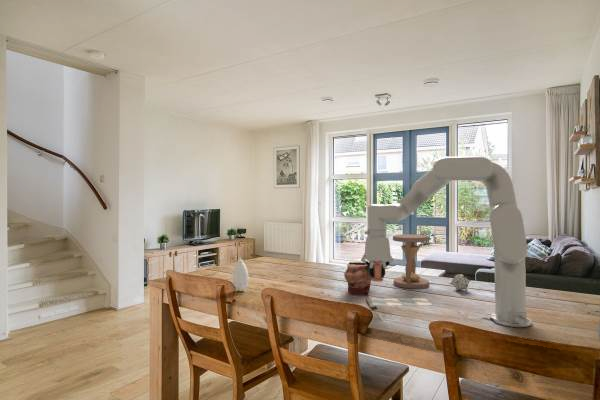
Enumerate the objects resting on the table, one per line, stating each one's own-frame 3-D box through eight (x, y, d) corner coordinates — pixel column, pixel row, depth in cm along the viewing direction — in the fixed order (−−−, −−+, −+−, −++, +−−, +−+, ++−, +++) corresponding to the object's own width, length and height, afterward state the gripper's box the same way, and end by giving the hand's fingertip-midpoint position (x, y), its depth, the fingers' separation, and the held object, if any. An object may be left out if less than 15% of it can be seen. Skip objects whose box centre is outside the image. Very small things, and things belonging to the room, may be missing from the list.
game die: (464, 299, 169) (474, 285, 163) (446, 292, 171) (455, 278, 165) (464, 285, 176) (473, 272, 170) (447, 279, 178) (455, 265, 172)
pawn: (384, 281, 148) (384, 258, 147) (372, 281, 148) (372, 258, 148) (382, 279, 152) (381, 256, 152) (370, 279, 153) (370, 256, 152)
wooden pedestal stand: (402, 279, 195) (401, 233, 195) (434, 283, 184) (433, 235, 184) (387, 285, 182) (386, 236, 182) (421, 290, 171) (420, 238, 171)
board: (436, 308, 143) (436, 305, 143) (371, 309, 144) (371, 306, 144) (426, 300, 155) (426, 297, 155) (366, 300, 156) (366, 297, 156)
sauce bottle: (244, 293, 171) (243, 256, 171) (229, 292, 174) (229, 255, 174) (251, 289, 178) (250, 253, 178) (237, 288, 181) (236, 253, 181)
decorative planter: (356, 285, 183) (355, 258, 183) (379, 288, 176) (378, 260, 176) (339, 295, 166) (338, 265, 166) (363, 298, 159) (363, 267, 159)
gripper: (358, 234, 146) (358, 279, 146) (399, 234, 146) (399, 279, 146) (356, 232, 154) (356, 275, 154) (394, 232, 153) (395, 275, 153)
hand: (377, 276), depth 150 cm, fingers closed on pawn, 3 cm apart
